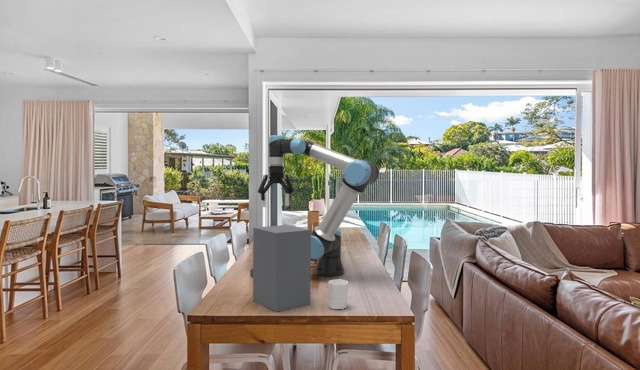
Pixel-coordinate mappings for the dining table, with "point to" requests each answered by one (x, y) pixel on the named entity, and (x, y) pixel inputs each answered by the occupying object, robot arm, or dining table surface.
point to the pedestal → (281, 267)
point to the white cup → (338, 293)
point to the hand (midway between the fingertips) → (275, 206)
